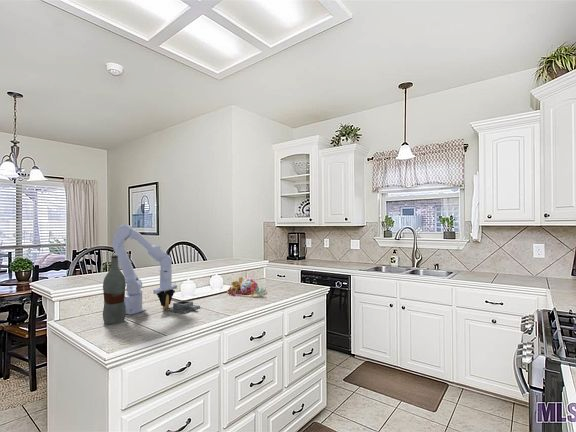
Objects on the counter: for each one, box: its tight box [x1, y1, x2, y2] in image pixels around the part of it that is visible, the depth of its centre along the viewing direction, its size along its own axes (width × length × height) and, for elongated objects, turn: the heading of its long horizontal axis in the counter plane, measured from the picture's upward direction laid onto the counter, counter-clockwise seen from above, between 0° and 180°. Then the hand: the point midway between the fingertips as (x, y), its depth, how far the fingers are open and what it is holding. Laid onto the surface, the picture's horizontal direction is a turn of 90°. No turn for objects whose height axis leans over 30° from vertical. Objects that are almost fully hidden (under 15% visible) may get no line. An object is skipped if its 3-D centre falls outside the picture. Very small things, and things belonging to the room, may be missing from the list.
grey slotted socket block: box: [165, 300, 201, 315], centre depth 170 cm, size 12×14×4 cm
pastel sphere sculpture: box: [227, 276, 267, 298], centre depth 209 cm, size 25×24×9 cm
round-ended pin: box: [162, 295, 170, 311], centre depth 171 cm, size 3×3×7 cm
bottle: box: [102, 255, 127, 326], centre depth 150 cm, size 9×9×30 cm
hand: (165, 305), depth 171 cm, fingers closed on round-ended pin, 3 cm apart
